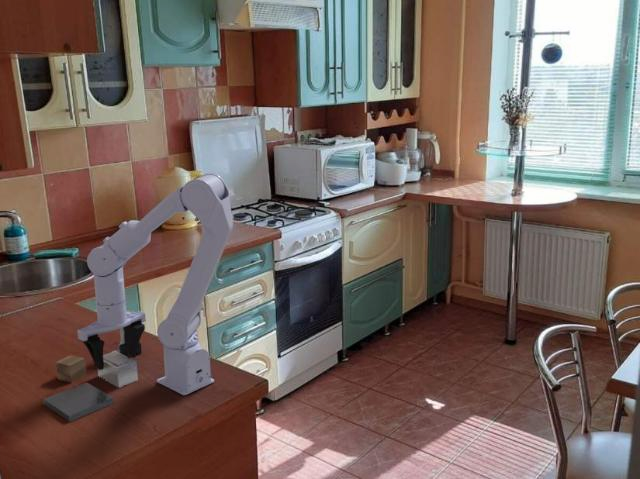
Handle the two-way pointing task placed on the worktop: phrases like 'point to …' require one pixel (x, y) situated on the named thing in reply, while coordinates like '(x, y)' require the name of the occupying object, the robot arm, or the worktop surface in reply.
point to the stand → (78, 401)
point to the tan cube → (71, 368)
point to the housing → (118, 369)
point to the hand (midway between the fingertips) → (116, 362)
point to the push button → (122, 344)
